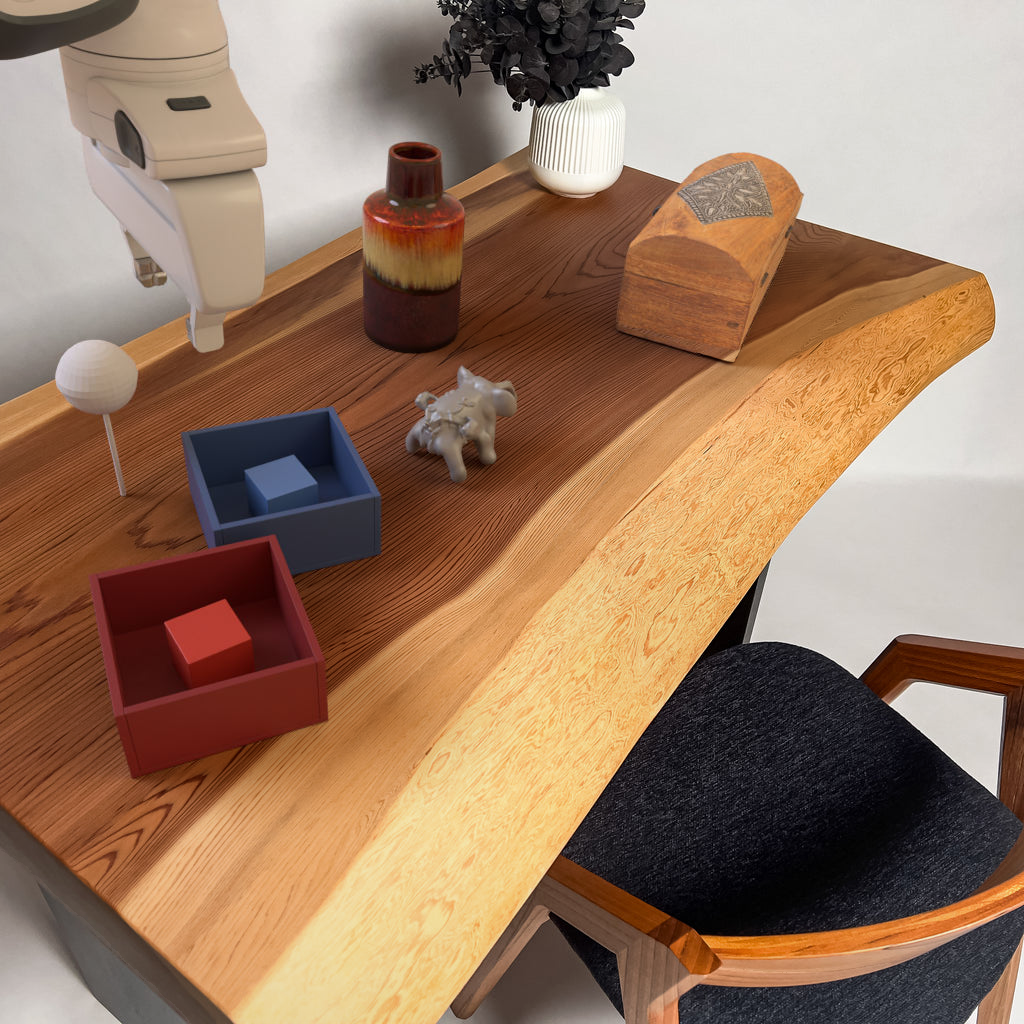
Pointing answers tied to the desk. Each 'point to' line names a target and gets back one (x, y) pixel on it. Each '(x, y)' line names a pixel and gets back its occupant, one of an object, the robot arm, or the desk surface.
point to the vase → (412, 254)
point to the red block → (209, 645)
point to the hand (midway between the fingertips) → (177, 312)
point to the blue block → (280, 487)
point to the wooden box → (710, 253)
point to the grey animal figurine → (462, 420)
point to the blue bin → (300, 532)
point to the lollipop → (98, 384)
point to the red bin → (219, 706)
